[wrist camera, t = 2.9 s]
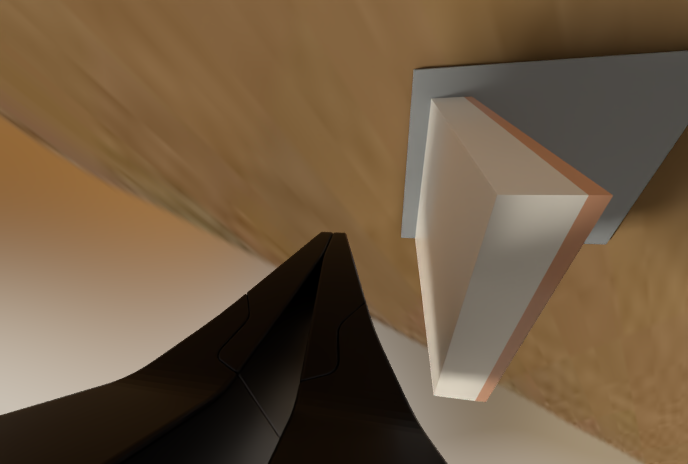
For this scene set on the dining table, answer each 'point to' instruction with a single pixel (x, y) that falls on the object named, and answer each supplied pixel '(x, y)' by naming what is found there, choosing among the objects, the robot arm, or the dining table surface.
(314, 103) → the dining table surface
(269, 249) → the dining table surface
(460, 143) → the tile
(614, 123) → the mat
